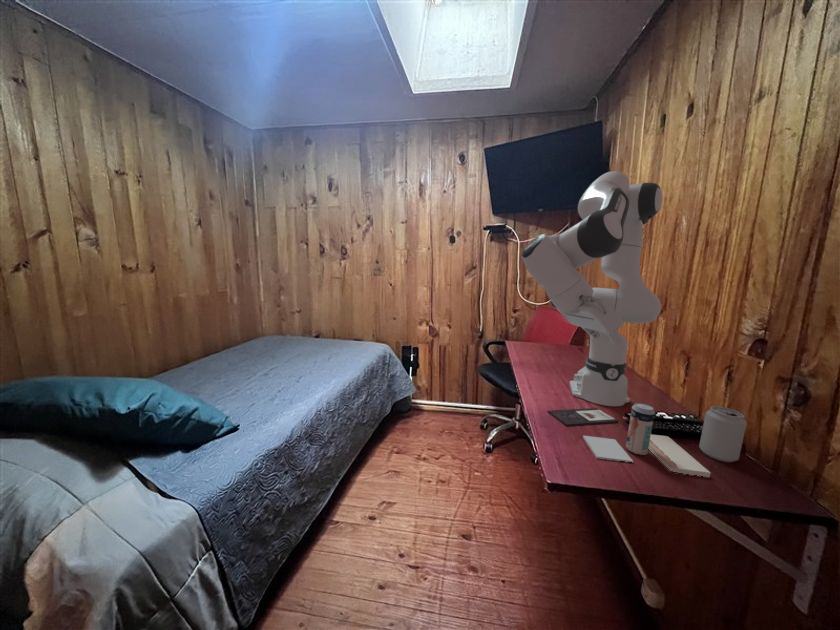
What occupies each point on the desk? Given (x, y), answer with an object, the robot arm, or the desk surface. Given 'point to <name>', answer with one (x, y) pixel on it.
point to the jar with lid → (640, 428)
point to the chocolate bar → (582, 417)
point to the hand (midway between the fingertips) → (607, 340)
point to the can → (722, 434)
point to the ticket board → (675, 456)
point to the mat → (607, 449)
